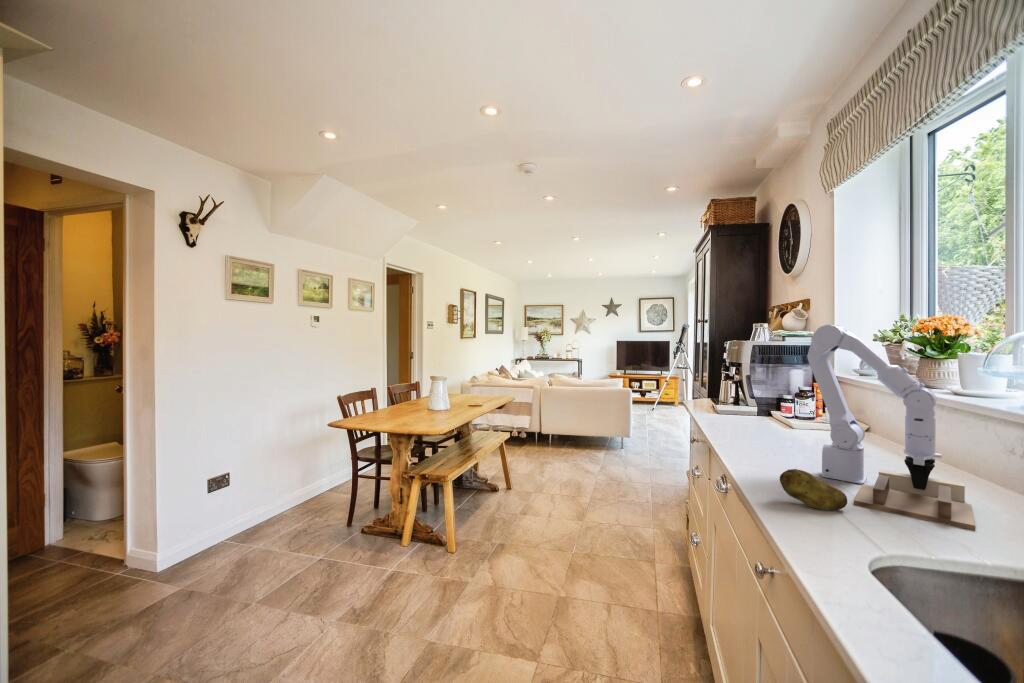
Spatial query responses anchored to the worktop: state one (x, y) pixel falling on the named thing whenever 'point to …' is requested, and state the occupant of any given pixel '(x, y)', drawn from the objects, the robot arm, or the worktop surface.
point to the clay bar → (905, 484)
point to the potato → (812, 490)
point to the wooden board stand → (916, 504)
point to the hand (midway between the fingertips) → (919, 487)
